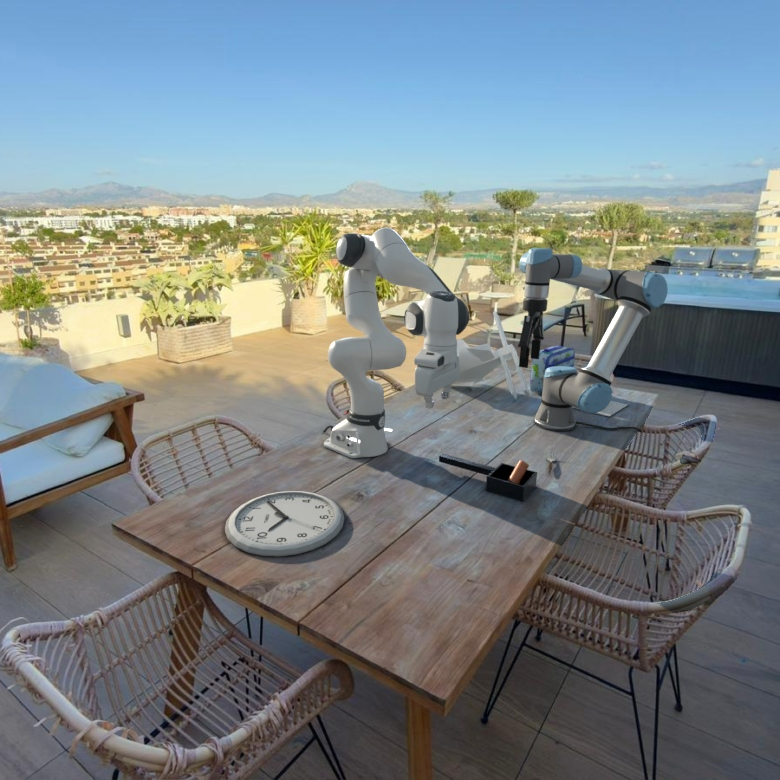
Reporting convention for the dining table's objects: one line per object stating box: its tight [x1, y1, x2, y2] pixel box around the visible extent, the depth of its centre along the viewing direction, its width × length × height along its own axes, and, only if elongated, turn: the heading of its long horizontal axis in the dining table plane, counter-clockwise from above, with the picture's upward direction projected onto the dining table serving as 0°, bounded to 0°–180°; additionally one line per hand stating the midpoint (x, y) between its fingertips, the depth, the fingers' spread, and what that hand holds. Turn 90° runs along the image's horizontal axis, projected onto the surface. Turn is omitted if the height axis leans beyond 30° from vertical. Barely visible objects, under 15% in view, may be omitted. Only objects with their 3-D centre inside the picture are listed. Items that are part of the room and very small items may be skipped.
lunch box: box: [529, 345, 576, 394], centre depth 244 cm, size 26×11×21 cm, turn 135°
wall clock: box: [224, 490, 345, 557], centre depth 134 cm, size 30×2×30 cm
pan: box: [438, 453, 538, 502], centre depth 158 cm, size 29×11×5 cm, turn 56°
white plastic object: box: [452, 310, 531, 400], centre depth 245 cm, size 37×45×31 cm
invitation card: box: [573, 400, 629, 418], centre depth 226 cm, size 21×1×15 cm
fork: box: [547, 449, 557, 475], centre depth 169 cm, size 3×16×2 cm, turn 160°
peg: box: [508, 459, 530, 484], centre depth 154 cm, size 3×3×7 cm
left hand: (437, 402), depth 143 cm, fingers open, 8 cm apart
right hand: (529, 362), depth 173 cm, fingers open, 13 cm apart
